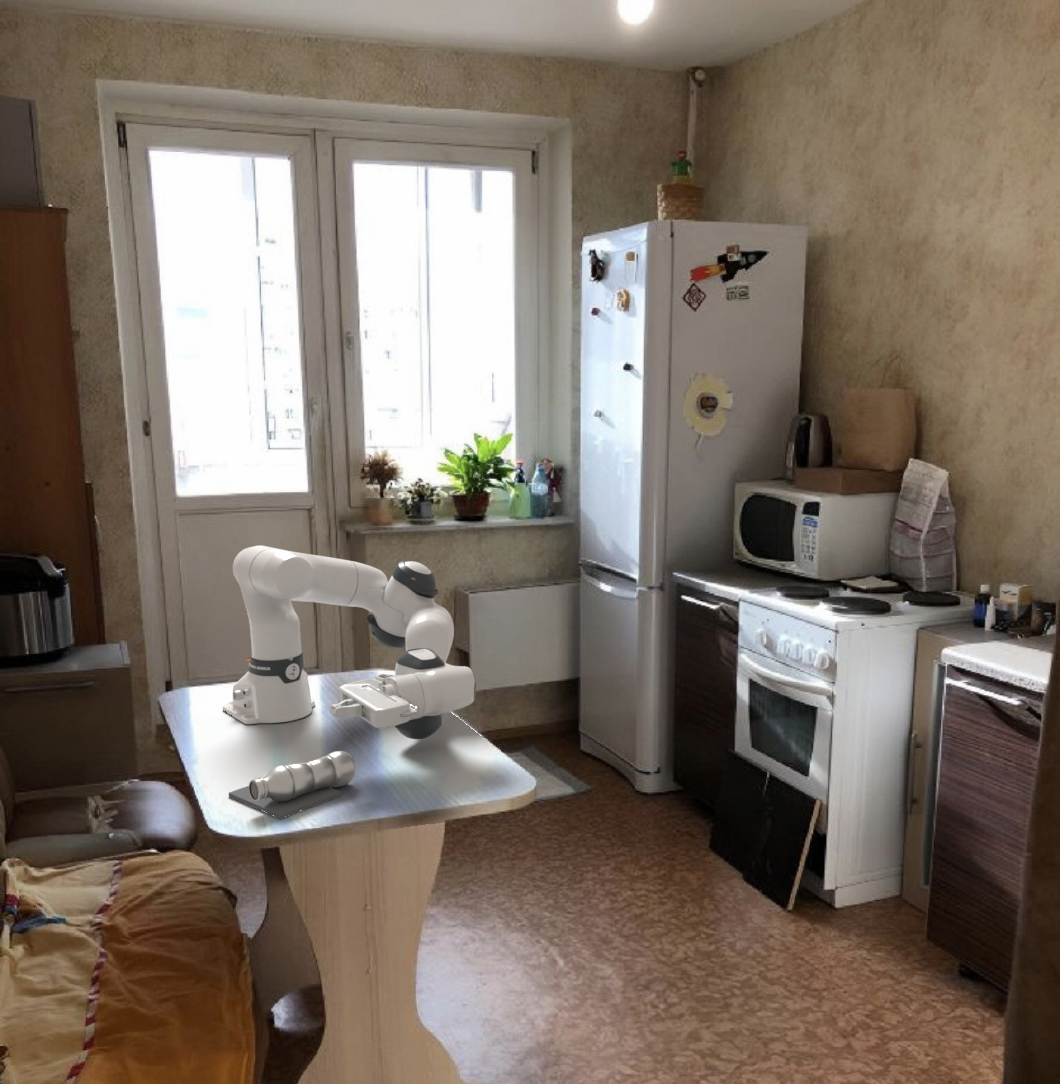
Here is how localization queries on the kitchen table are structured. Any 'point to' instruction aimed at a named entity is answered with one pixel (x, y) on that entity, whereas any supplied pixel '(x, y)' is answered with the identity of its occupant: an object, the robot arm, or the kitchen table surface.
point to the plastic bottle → (304, 777)
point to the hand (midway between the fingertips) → (332, 711)
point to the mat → (289, 806)
